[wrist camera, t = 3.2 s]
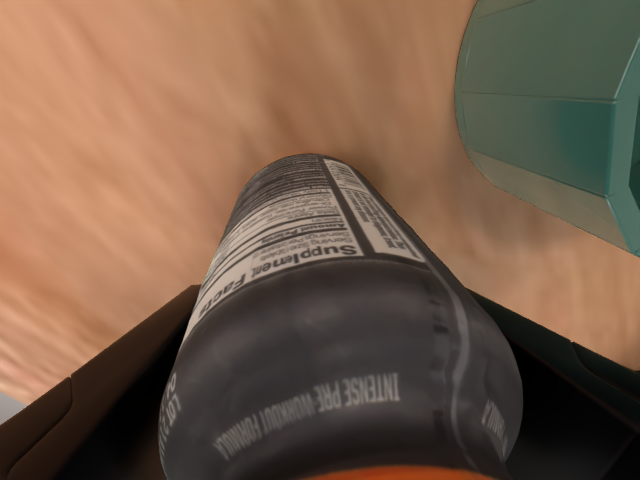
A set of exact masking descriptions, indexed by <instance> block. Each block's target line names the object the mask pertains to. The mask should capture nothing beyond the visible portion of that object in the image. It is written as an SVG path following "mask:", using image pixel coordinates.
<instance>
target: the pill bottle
mask: <svg viewBox="0 0 640 480" xmlns="http://www.w3.org/2000/svg"><path fill="white" fill-rule="evenodd" d="M522 412H523V390H522V380H521V377H520V373H519V370H518V366H517V363H516V360H515V357H514V354H513V352H512V350H511V347H510V345H509V343H508V341H507V340H506V338H505V337H504V335H503V334H502V332H501V330H500V329H499V327H498V325H497V324H496V323H495V322H494V320H493V319H492V318H491V317H490V316H489V315H488V314H487V313H486V312H485V310H484V309H483V308H482V307H481V306H480V305H479V304H478V303H477V301H476V300H475V299H474V298H473V297H472V296H471V294H470V293H469V292H468V291H467V290H466V288H465V287H464V286H463V285H462V284H461V283H460V281H459V280H458V279H457V278H456V277H455V276H454V275H453V273H452V272H451V271H450V270H449V268H448V267H447V266H446V265H445V264H444V263H443V262H442V261H441V260H440V259H439V258H438V257H437V256H436V255H435V254H434V253H433V252H432V251H431V250H430V249H429V248H428V247H427V245H426V244H425V243H424V242H423V241H422V240H421V239H420V237H419V236H418V235H417V234H416V233H415V232H414V230H413V229H412V228H411V227H410V226H409V225H408V224H407V223H406V222H405V221H404V220H403V219H402V218H401V217H400V216H399V215H398V214H397V213H396V211H395V210H394V209H393V208H392V207H391V206H390V205H389V204H388V203H387V202H386V201H385V200H384V199H383V197H382V196H381V195H380V194H379V193H378V192H377V190H376V189H375V188H374V187H373V186H372V185H371V184H370V183H369V182H368V180H367V179H366V178H365V177H364V176H363V175H362V174H361V173H360V172H358V171H357V170H356V169H354V168H353V167H352V166H350V165H348V164H346V163H345V162H343V161H341V160H339V159H336V158H333V157H330V156H326V155H319V154H298V155H293V156H288V157H285V158H282V159H279V160H277V161H275V162H273V163H271V164H270V165H268V166H266V167H264V168H263V169H262V170H260V171H259V172H257V173H256V174H255V175H254V176H253V177H252V178H251V179H250V180H249V181H248V183H247V184H246V185H245V187H244V188H243V190H242V191H241V193H240V195H239V197H238V199H237V201H236V204H235V206H234V209H233V211H232V213H231V216H230V219H229V222H228V224H227V226H226V229H225V231H224V234H223V237H222V239H221V241H220V244H219V246H218V249H217V251H216V253H215V256H214V258H213V260H212V262H211V265H210V267H209V269H208V272H207V274H206V277H205V279H204V281H203V284H202V286H201V289H200V291H199V294H198V298H197V302H196V305H195V307H194V309H193V312H192V316H191V318H190V321H189V324H188V327H187V330H186V333H185V336H184V339H183V342H182V344H181V347H180V349H179V352H178V355H177V358H176V361H175V364H174V366H173V369H172V371H171V374H170V377H169V379H168V382H167V385H166V388H165V391H164V394H163V397H162V400H161V405H160V413H159V421H158V442H159V453H160V460H161V464H162V467H163V470H164V473H165V475H166V477H167V479H168V480H513V478H512V477H511V476H510V474H509V473H508V470H507V468H506V465H505V461H506V459H507V458H508V456H509V455H510V453H511V450H512V448H513V446H514V444H515V442H516V439H517V436H518V434H519V430H520V425H521V420H522Z"/></svg>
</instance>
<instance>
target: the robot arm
mask: <svg viewBox="0 0 640 480" xmlns="http://www.w3.org/2000/svg"><path fill="white" fill-rule="evenodd" d="M201 286H202V285H191V286H190V287H188V288H187V289H186V290H184V291H183V292H182V293H180V294H179V295H178V296H176V297H175V298H174V299H172V300H171V301H169V302H168V303H167V304H165V305H164V306H163V307H161V308H160V309H159V310H157V311H156V312H155V313H153V314H152V315H151V316H149V317H148V318H147V319H145V320H144V321H143V322H141V323H140V324H138V325H137V326H136V327H134V328H133V329H132V330H130V331H129V332H128V333H126V334H125V335H124V336H122V337H121V338H120V339H118V340H117V341H116V342H114V343H113V344H112V345H110V346H109V347H108V348H106V349H105V350H103V351H102V352H101V353H99V354H98V355H97V356H95V357H94V358H93V359H91V360H90V361H89V362H87V363H86V364H85V365H83V366H82V367H81V368H79V369H78V370H77V371H75V372H74V373H72V374H71V378H70V377H67V378H66V379H64V380H63V381H62V382H60V383H59V384H57V385H56V386H55V387H53V388H52V389H51V390H49V391H48V392H47V393H45V394H44V395H42V396H41V397H40V398H38V399H37V400H36V401H34V402H33V403H31V404H30V405H29V406H27V407H26V408H25V409H23V410H22V411H20V412H19V413H17V414H16V415H14V416H13V417H12V418H10V419H9V420H7V421H6V422H4V423H3V424H1V425H0V480H168V479H167V477H166V475H165V473H164V470H163V467H162V464H161V460H160V453H159V442H158V421H159V413H160V405H161V400H162V397H163V394H164V391H165V388H166V385H167V382H168V379H169V377H170V374H171V371H172V369H173V366H174V364H175V361H176V358H177V355H178V352H179V349H180V347H181V344H182V342H183V339H184V336H185V333H186V330H187V327H188V324H189V321H190V318H191V316H192V312H193V309H194V307H195V305H196V302H197V298H198V294H199V291H200V289H201ZM466 290H467V291H468V292H469V293H470V294H471V296H472V297H473V298H474V299H475V300H476V301H477V303H478V304H479V305H480V306H481V307H482V308H483V309H484V310H485V312H486V313H487V314H488V315H489V316H490V317H491V318H492V319H493V320H494V322H495V323H496V324H497V325H498V327H499V329H500V330H501V332H502V334H503V335H504V337H505V338H506V340H507V341H508V343H509V345H510V347H511V350H512V352H513V354H514V357H515V360H516V363H517V366H518V370H519V373H520V377H521V380H522V390H523V412H522V420H521V425H520V430H519V434H518V436H517V439H516V442H515V444H514V446H513V448H512V450H511V453H510V455H509V456H508V458H507V459H506V461H505V465H506V468H507V470H508V473H509V474H510V476H511V477H512V478H513V480H640V373H637V372H635V371H633V370H631V369H628V368H626V367H624V366H622V365H620V364H618V363H616V362H614V361H612V360H610V359H607V358H605V357H603V356H601V355H599V354H597V353H595V352H593V351H591V350H589V349H587V348H585V347H583V346H581V345H579V344H577V343H575V342H571V341H570V340H569V339H567V338H565V337H563V336H561V335H559V334H557V333H555V332H553V331H551V330H549V329H547V328H545V327H543V326H541V325H539V324H537V323H535V322H533V321H531V320H529V319H527V318H525V317H523V316H521V315H519V314H517V313H515V312H513V311H511V310H509V309H507V308H505V307H503V306H501V305H499V304H497V303H495V302H493V301H491V300H489V299H487V298H485V297H483V296H481V295H479V294H477V293H475V292H473V291H471V290H469V289H467V288H466Z"/></svg>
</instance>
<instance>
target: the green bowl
mask: <svg viewBox="0 0 640 480" xmlns="http://www.w3.org/2000/svg"><path fill="white" fill-rule="evenodd" d="M455 111H456V121H457V125H458V130H459V134H460V138H461V140H462V143H463V145H464V148H465V151H466V153H467V154H468V156H469V158H470V160H471V161H472V163H473V165H474V166H475V167H476V168H477V169H478V171H479V172H480V173H481V174H482V175H483V176H484V177H485V178H486V179H487V180H488V181H490V182H491V183H492V184H493V185H495V187H497V188H499V189H501V190H503V191H505V192H507V193H509V194H511V195H513V196H515V197H517V198H519V199H521V200H523V201H525V202H528V203H530V204H532V205H534V206H536V207H538V208H540V209H542V210H544V211H546V212H548V213H550V214H552V215H554V216H556V217H558V218H560V219H562V220H564V221H566V222H568V223H570V224H572V225H574V226H576V227H578V228H580V229H582V230H584V231H586V232H588V233H590V234H592V235H594V236H596V237H598V238H600V239H602V240H604V241H606V242H608V243H610V244H612V245H615V246H617V247H619V248H621V249H623V250H625V251H627V252H629V253H631V254H633V255H635V256H637V257H639V258H640V0H478V1H477V3H476V5H475V8H474V10H473V12H472V15H471V18H470V20H469V23H468V26H467V29H466V31H465V34H464V38H463V42H462V46H461V50H460V54H459V58H458V64H457V71H456V78H455Z"/></svg>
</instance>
